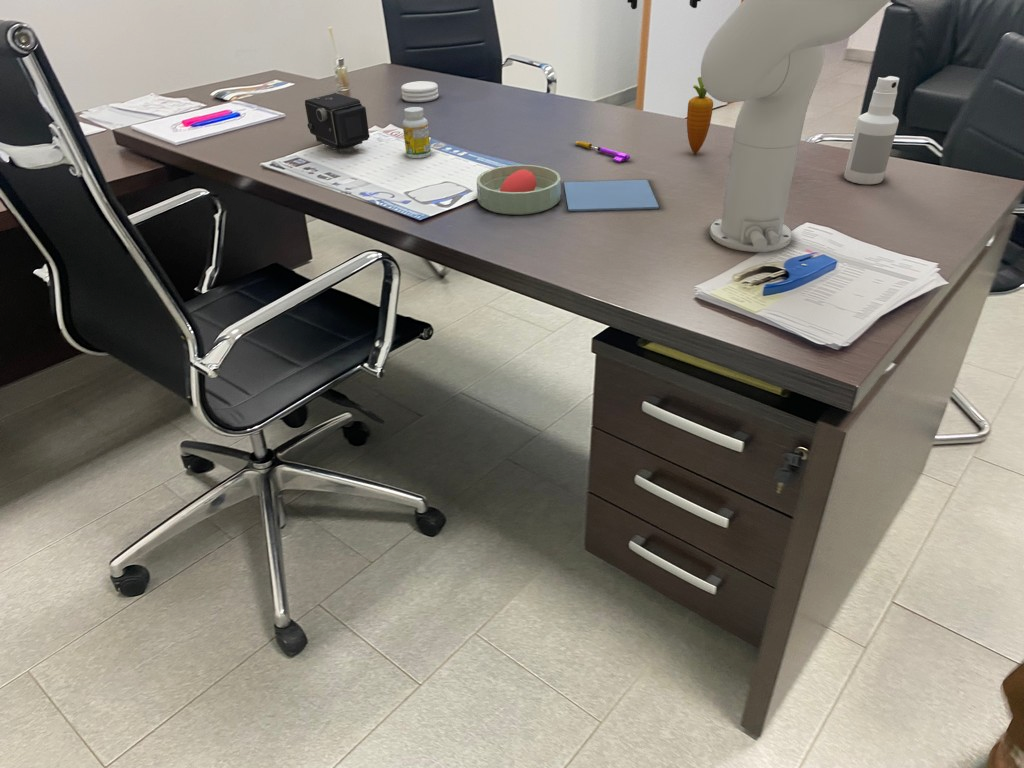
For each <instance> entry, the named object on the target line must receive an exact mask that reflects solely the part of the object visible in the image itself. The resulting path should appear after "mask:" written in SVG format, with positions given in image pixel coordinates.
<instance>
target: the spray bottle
mask: <svg viewBox="0 0 1024 768" xmlns="http://www.w3.org/2000/svg"><path fill="white" fill-rule="evenodd" d="M899 83H900V77H898V76H893V75H888V76H886V77H879V76H878V77H877V81H876V86H875V87H874V89H873V90H872V94H871V99H870V102H869V106H868V108H867V109H868V110H867V112H865V113H861V114H860V115H859V116H858V118H857V120H856V123H855V124H856V125H855V128H854V132H853V137H852V141H851V144H850V145H851V146H850V149H849V154H848V157H847V161H846V166H845V170H844V173H843V174H844V175H843V178H844V179H845V180H847V181H848V182H851V183H854V184H858V185H867V186H868V185H869V186H870V185H877V184H880V183H882V182H883V180H884V177H885V175H886V171H887V167H888V163H889V159H890V155H891V152H892V147H893V144H894V141H895V137H896V133H897V130H898V126H899V124H900V123H899V122H900V120H899V118H898V117H897V116H895V114H894V113H893V112H894V109H895V105H896V100H897V95H898V86H899Z"/></svg>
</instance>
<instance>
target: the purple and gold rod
mask: <svg viewBox="0 0 1024 768" xmlns="http://www.w3.org/2000/svg"><path fill="white" fill-rule="evenodd" d="M574 143H575V145H578V146H580V147H583V148H585V149H588V150H591V149H596V150H597V151H598V152H599V153H602V154H605V155H609V156H613V157H614V158H612V161H613V162H616V163H619V164H620V163H622V162H627V161H629V160H630V159H631V156H630V155H629V154H627V153H624V152H621V151H616V150H614V149H613V150H612V149H610V148H606V147H603V146H598V147H596V146H593V144H592V143H590V142H585V141H582V140H576V141H575V142H574Z"/></svg>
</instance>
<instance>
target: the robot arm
mask: <svg viewBox="0 0 1024 768" xmlns="http://www.w3.org/2000/svg"><path fill="white" fill-rule="evenodd" d="M626 1H627V3H628V4H630V8H631V10H636V9H637V8H638V0H626ZM698 2H702V0H689V6H690V7H691V8H692V9H697V8H698ZM889 2H891V0H742V1H741V3H740V4H739V5H738V6H737V7H736V8H735V10H733V12H732V13H731V14H730V15H729V16H728V18H727V19H726V20H725V21H724V22H723V23H722V25H721V26H720V27H719V28H718V29H717V30H716V32H715V33H714V34H713V36H712V38H711V39H710V40H709V42H708V44H707V46H706V48H705V50H704V53H703V55H702V59H701V65H700V77H701V79H702V83H703V86H704V88H705V90H706V91H707V94H708V95H709V96H710V97H712V98H713V99H714V100H715V101H716V100H717V101H719V102H722V103H728V104H732V103H740V102H742V105H741V107H740V110H739V112H738V114H737V117H736V121H735V126H734V130H733V131H734V132H733V137H732V144H731V150H730V151H731V152H730V159H729V166H728V173H727V179H726V185H725V193H724V199H723V205H722V206H723V208H722V214H721V218H719V219H716V220H715V221H713V222H712V223H711V225H710V227H709V235H710V237H711V239H713V241H714V242H715V243H717V244H719V245H721V246H723V247H725V248H728V249H731V250H736V251H741V252H748V253H768V252H774V251H778V250H780V249H783V248H785V247H787V246H788V245H789V244H790V243H791V241H792V236H793V233H792V229H790V228H789V226H788V225H786V224H785V218H786V213H787V208H788V204H789V199H790V194H791V190H792V189H791V188H792V184H793V178H794V174H795V167H796V163H797V157H798V152H799V149H800V143H801V140H802V133H803V130H804V125H805V121H806V115H807V111H808V108H809V105H810V101H811V98H812V96H813V93H814V90H815V88H816V85H817V84H818V81H819V78H820V75H821V73H822V70H823V65H824V61H825V54H826V53H825V52H826V50H825V49H826V48H825V47H826V46H827V45H832V44H835V43H837V42H841V41H844V40H846V39H848V38H850V37H851V36H853V35H854V34H855V33H856V32H857V31H859V29H861V28H862V27H863V26H864V25H865V24H867V22H868V21H870V20H871V19H872V18H873V17H874V16H875V15H876V14H878V12H880V11H881V9H883V8H884V7H885V6H886V5H887V4H888V3H889Z"/></svg>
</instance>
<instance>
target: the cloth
mask: <svg viewBox="0 0 1024 768" xmlns="http://www.w3.org/2000/svg"><path fill="white" fill-rule="evenodd" d="M563 186H564V193H565V199H566V205H567V212H596V211H597V212H599V211H630V210H631V211H632V210H659V209H660V206H659V204H658V201H657V199H656V197H655V194H654V192H653V190H652V188H651V186H650V184H649V180H648V179H628V180H627V179H625V180H591V181H590V180H589V181H588V180H587V181H564V182H563Z"/></svg>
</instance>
